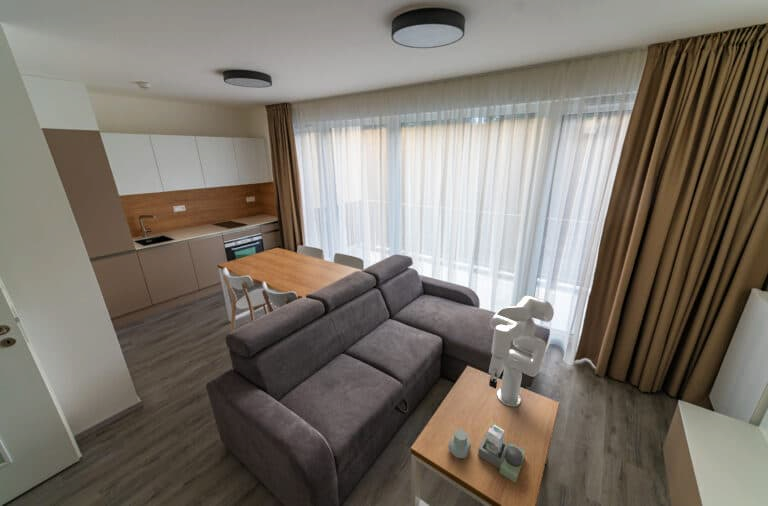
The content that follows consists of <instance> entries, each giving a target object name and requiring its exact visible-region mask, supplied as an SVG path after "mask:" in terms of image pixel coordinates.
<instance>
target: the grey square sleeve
mask: <svg viewBox="0 0 768 506" xmlns="http://www.w3.org/2000/svg"><path fill="white" fill-rule="evenodd" d="M487 434H488V431H487V432H486V433H485V435H484V437H483V439H482V441H481V443H480V446H479V447H478V453H477V456H479V457H480V458H482V459H483V460H484V461H486V462H488V463H490V464H491V465H493V466H494V467H496V468H497V469H499V474H500V475H502V476H503V477H505V478H507V479H509V481H511V482H513V483H515V484H517V480H518V476H519V474H520V471H521V468H522V465H523V462H524V459H525V455H526V450H524V449H522V448H520V447H519V446H518V445H515V444H513V443H511V442H509V443H507V442H505V441H504V440H503V443H502V449H501V454H500V456H499V457H497V456H495V455H493V454H492V453H490V452H488V451H487V450H485V448H486V441H487Z"/></svg>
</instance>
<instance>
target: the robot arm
mask: <svg viewBox="0 0 768 506" xmlns="http://www.w3.org/2000/svg"><path fill="white" fill-rule="evenodd" d="M554 311H555V310H554V308H553V306H552V304H551V303H550V302H549V301H547V300H545V299H542V298H539V297H535V296H532V295H524V296H522V297H521V298H520V299H519V300H518V302H516V304H515V305H514V306H508V307H503V308H500V309H499V310H497V311H496V312H495V313H494V315H493V316H492V317H491V319H490V322H489V325H490V327H491V329H492V330H494V331H493V338H492V344H491V354H492V355H491V359H490V364H489V369H488V374H490V378H489V383H488V386H489V387H491V388H492V389H497V384H498V378H499V377H502V379H501V384H500V388H499V389H498V390H497V392H496V397H497V399H498V400H499V401H500V403H502V404H503V405H505V406H508V407H513V408H514V407H517V406H519V405H520V404H521V400H522V398H521V396H520V390H521V389H520V388H521V384H522V377H523V374H525V375H527V376H529V377H536V376H537V374H538V373H539V371H540V367H541V364H542V361H543V359H544V356H545V354H546V350H547V349H546V348H547V343H546V341H545V340H543V339H542V338H540V337H537V336H535V333H536V330H537V325H536V323H535V321H534V319H536V320H539V321H541V322H544V323H550V322H551V321H552V320H553V318H554V316H555V315H554V313H555V312H554ZM512 344H513V346H514V347H515V348H517V349H518V350H516V349H513V348H511V345H512ZM519 350H520V351H519ZM521 351H522V352H521ZM526 353H527V354H526ZM528 354H530V355H532V356H530V355H528Z"/></svg>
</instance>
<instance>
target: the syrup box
mask: <svg viewBox="0 0 768 506" xmlns="http://www.w3.org/2000/svg"><path fill="white" fill-rule="evenodd" d="M487 432H488V434H487V441H486V446H485V448H484V449H485V450H487V451H488V452H490V453H492V454H493V455H495V456H497V457H498V458H500V456H501V454H502V450H501V449H502V443H503V441H504V436H505V430H504V429H503V428H501V427H499V425H498V426H497V425H496V424H495V423H492V424H491V426H490V427H489V429H488V430H487Z"/></svg>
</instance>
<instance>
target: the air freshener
mask: <svg viewBox="0 0 768 506" xmlns="http://www.w3.org/2000/svg"><path fill="white" fill-rule="evenodd" d="M471 447H472V443H471V441H470V440H469V438H468V434H467V432H466V431H465V430H464V429H457V430H455V431H454V434H453V435H452V436H451V439H450V440H449V443H448V449H449V452H450V453H451V454H452V455H453V456H454V457H456V458H458V459H466V458H467V456H468V455H469V452H470V450H471Z"/></svg>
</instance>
